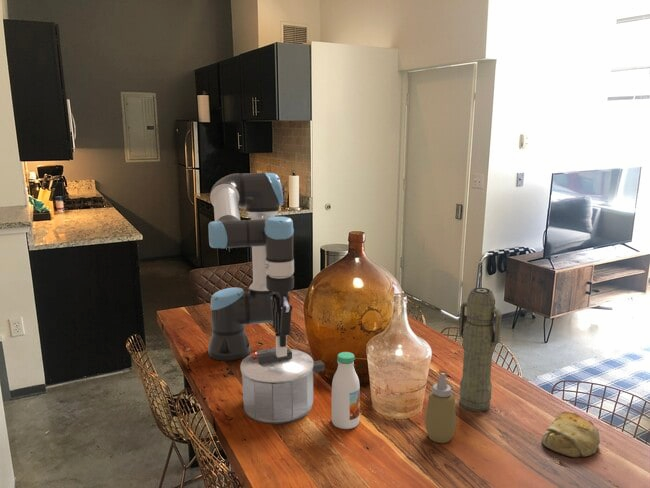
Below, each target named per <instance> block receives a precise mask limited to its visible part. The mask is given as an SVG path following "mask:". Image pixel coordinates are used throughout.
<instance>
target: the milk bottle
mask: <svg viewBox="0 0 650 488" xmlns="http://www.w3.org/2000/svg"><path fill="white" fill-rule="evenodd" d="M354 360H355V355H354V353H352V352H350V351H342V352H339V353H338V354H337V361H336V363H337V364H338V365H337V369H336V371H335V372H334V375H333V376H332V377H333V378H332V381H331V423H332V425H333V426H334V427H335V428H337V429H342V430H350V429H354V428H356V427H357V426H358V425H359V423H360V412H361V411H360V410H361V409H360V408H361V407H360V406H361V404H360V403H361V400H360V399H361V395H360V394H361V393H360V392H361V390H360V389H361V388H360V379H359V376H358V374H357V373H356V370H355V364H354Z"/></svg>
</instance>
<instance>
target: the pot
mask: <svg viewBox="0 0 650 488" xmlns="http://www.w3.org/2000/svg"><path fill="white" fill-rule="evenodd" d="M313 362H314V367H313V370H312V372H311V373H310V374H309V375H307V376H306V377H304V378H302V379H299V380H296V381H293V382H288V383H281V384H266V383H259V382H255V381H252V380H250V379H248V378H246V377H245V376H243V374H242V373H241V376H242V377H241V378H242V379H241V380H242V384H241V385H242V399H243V400H242V401H243V402H242V403H243V411H244V413H245V415H246V416H247V417H248V418H249V419H252V420H253V421H256V422H259V423H263V424H269V425H270V424H271V425H275V424H276V425H279V424H287V423H291V422H295V421H298V420H300V419H301V418H304V417H305V416H306V415H308V414H309V413H310V412H311V409H312V408H313V404H314V373H318V372H324V371H326V370H325V363H324V362H323V361H322V360H315V361H314V360H313Z"/></svg>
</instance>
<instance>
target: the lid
mask: <svg viewBox="0 0 650 488" xmlns="http://www.w3.org/2000/svg"><path fill="white" fill-rule="evenodd" d="M313 367H314V360H313V358H312V356H311V355H309V354H308V353H306V352H304V351H301V350H298V349H294V348H287V356H284V357H277V356H276V347H274V348H273V347H272V348H265V349H261V350H257V351H255V350H253V351H250V353H249V354H248V355H247V356H245V357H243V358H242V361H241V362H240V373H241V375H242V374H243V376H245V377H246V378H248V379H250V380H252V381H255V382H259V383H266V384H281V383H288V382H293V381H296V380H299V379H302V378H304V377H306V376H307V375H309V374H310V373H311V372H312V370H313Z"/></svg>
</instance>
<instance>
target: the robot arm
mask: <svg viewBox="0 0 650 488" xmlns="http://www.w3.org/2000/svg"><path fill="white" fill-rule="evenodd" d="M283 194H284V193H283V187H282V182H281V180H280V177H279V175H278V174H276V173H272V172H271V173H270V172H252V173H230V174H228V175H226V176H224V177H221V178H220V179H219V180H217V181H216V182H215V184H213V186H212V187H211V190H210V195H209V197H210V198H209V199H210V203H211V205H212V206H213V213H214V214H213V215H214V221H210V222H209V223H208V226H207V227H208V243H209V246H210V248H212V249H229V248H230V249H232V248H233V249H234V248H246V247H247V248H248V247H249V248H250V247H251V258H252V260H251V261H252V283H251V284H250V285H249V287H248V290H249V291H244V289H243V288H241V287H236V286H235V287H227V288H223V289H220V290H218V291H216V292H214V293H213V294H212V296H211V298H210V309H209V310H210V313H211V316H210V317H211V332H212V333H211V337H210V340H209V343H208V347H207V351H208V353H207V355H208V357H210V358H211V359H213V360H217V361H223V362H224V361H229V362H230V361H236V360H240V359H244V358H245V357H247V356H248V355H250V354H251V344H250V341H249V338H248V336H247V333H246V330H245V325H246V326H247V325H256V324H257V325H258V324H268V323H269V324H272V328H273V329H274V332H275V333H274V335H275V348H276V356H277V357H284V356H287V349H288V341H287V339H288V336H290V334H291V333H290V332H291V323H292V322H291V321H292V320H291V319H292V311H293V305H292V304H290V296H289V294H288V293H289V292H290V291H292V290H293V289H294V288H295V276H294V273H295V259H294V233H295V229H294V222H293V219H292V218H291V217H287V216H276V215H277V214H278V213H279V212H280V207H282V206H283V205H284V195H283ZM239 207H240V208H244V207H245V210H246V211H245V213H247V214H248V215H249V216H250V219H243V220H242V219H241V215H240V210H239Z"/></svg>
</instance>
